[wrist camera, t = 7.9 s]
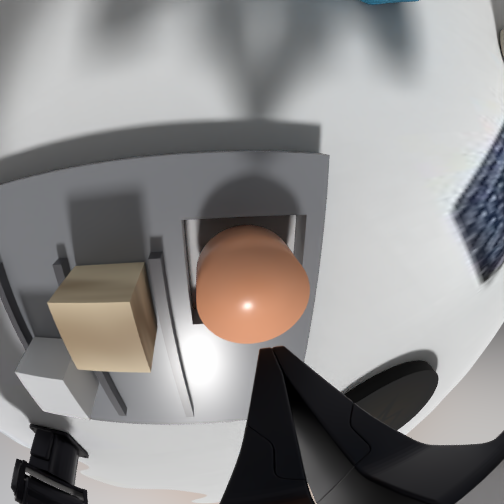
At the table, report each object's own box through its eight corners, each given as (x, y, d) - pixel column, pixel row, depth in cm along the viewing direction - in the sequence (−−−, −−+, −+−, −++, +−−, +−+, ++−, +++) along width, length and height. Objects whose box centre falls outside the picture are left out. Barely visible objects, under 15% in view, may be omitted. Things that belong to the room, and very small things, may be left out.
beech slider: (157, 326, 14) (150, 372, 11) (94, 327, 14) (77, 369, 10) (144, 261, 13) (129, 301, 9) (75, 265, 12) (47, 302, 9)
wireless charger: (429, 332, 23) (440, 343, 21) (429, 394, 30) (435, 403, 29) (280, 422, 24) (285, 437, 22) (328, 455, 32) (332, 465, 30)
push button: (288, 306, 16) (303, 336, 13) (200, 313, 15) (202, 347, 12) (294, 222, 14) (315, 243, 11) (192, 227, 13) (191, 250, 10)
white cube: (99, 381, 15) (89, 419, 12) (56, 376, 15) (43, 411, 12) (79, 339, 14) (62, 380, 11) (34, 336, 13) (14, 371, 10)
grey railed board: (288, 399, 22) (295, 419, 20) (76, 404, 18) (70, 423, 16) (317, 152, 14) (337, 156, 11) (-10, 187, 10) (-32, 196, 8)
